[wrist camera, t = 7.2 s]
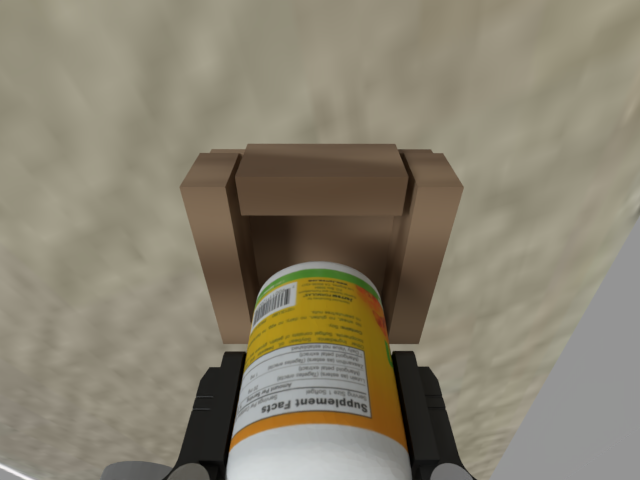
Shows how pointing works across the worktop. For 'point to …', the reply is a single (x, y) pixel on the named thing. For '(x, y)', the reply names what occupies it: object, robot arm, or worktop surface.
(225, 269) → the socket block
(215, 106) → the worktop surface
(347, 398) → the supplement bottle
